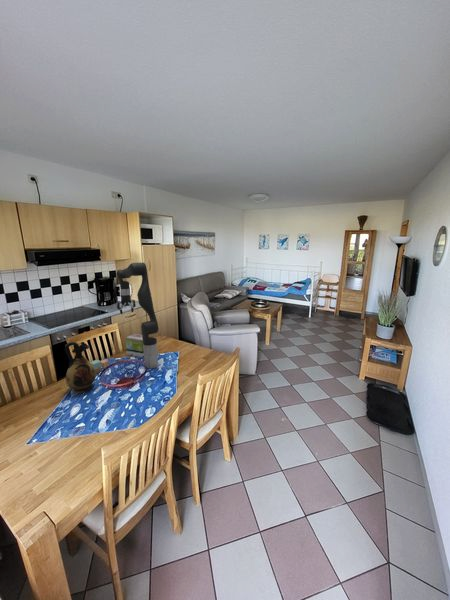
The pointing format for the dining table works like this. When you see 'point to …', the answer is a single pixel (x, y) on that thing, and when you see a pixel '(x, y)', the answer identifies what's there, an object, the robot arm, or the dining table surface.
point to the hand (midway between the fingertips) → (127, 313)
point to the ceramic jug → (79, 369)
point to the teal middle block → (96, 364)
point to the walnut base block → (98, 370)
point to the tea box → (135, 345)
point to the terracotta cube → (104, 363)
